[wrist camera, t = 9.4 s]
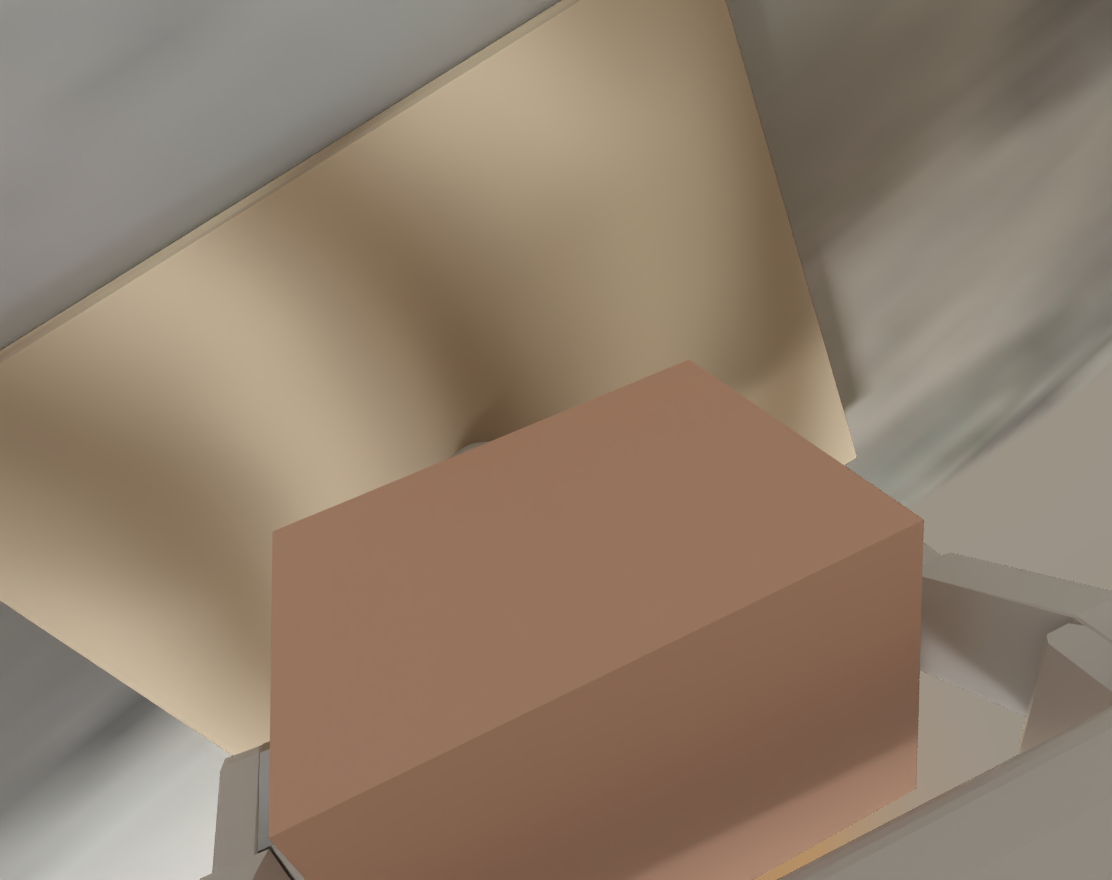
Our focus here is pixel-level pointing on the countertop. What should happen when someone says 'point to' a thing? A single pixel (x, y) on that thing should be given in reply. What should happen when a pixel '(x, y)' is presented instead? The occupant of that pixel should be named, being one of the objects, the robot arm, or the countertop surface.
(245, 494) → the pin plate
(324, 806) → the block
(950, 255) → the countertop surface
